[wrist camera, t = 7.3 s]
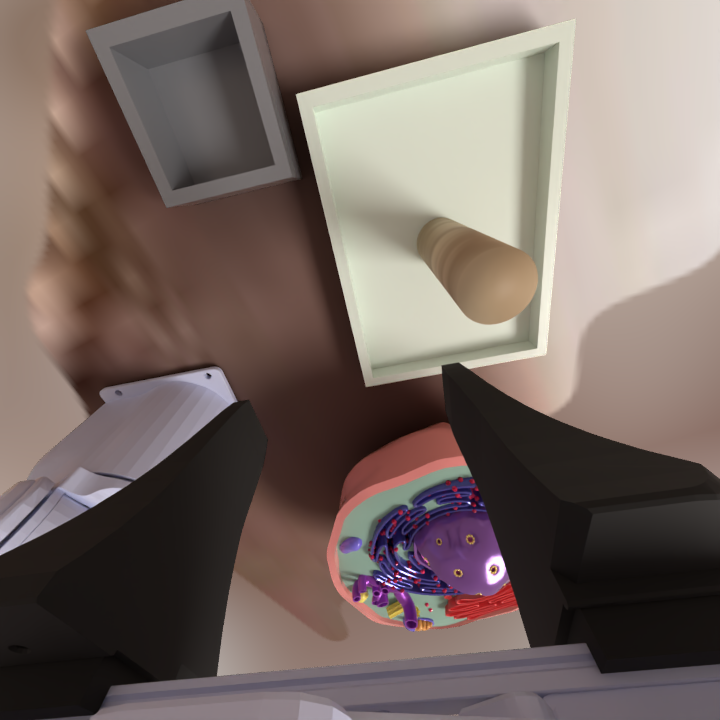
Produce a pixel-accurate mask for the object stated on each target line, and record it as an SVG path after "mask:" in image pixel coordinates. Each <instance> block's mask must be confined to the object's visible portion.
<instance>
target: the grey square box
mask: <svg viewBox="0 0 720 720" xmlns="http://www.w3.org/2000/svg"><path fill="white" fill-rule="evenodd" d="M86 33H87V35H88V37H89V39H90V41H91V44H92V46H93V48H94V50H95V52H96V55H97V57H98V59H99V61H100V63H101V65H102V68H103V70H104V72H105V74H106V76H107V79H108V81H109V83H110V85H111V87H112V90H113V92H114V94H115V96H116V98H117V101H118V103H119V105H120V107H121V109H122V111H123V114H124V116H125V118H126V120H127V122H128V125H129V127H130V129H131V131H132V133H133V136H134V138H135V140H136V142H137V144H138V146H139V149H140V151H141V153H142V155H143V157H144V160H145V162H146V164H147V166H148V168H149V171H150V173H151V175H152V177H153V179H154V181H155V184H156V186H157V188H158V190H159V192H160V195H161V197H162V199H163V201H164V203H165V206H166V208H170V207H179V206H188V205H197V204H201V203H205V202H209V201H213V200H217V199H222V198H226V197H230V196H234V195H238V194H242V193H246V192H250V191H254V190H258V189H262V188H266V187H271V186H275V185H279V184H283V183H287V182H291V181H295V180H299V179H303V178H302V174H301V170H300V166H299V162H298V159H297V155H296V151H295V147H294V143H293V139H292V135H291V131H290V127H289V124H288V120H287V116H286V112H285V108H284V104H283V100H282V96H281V92H280V89H279V85H278V81H277V77H276V73H275V69H274V65H273V61H272V57H271V54H270V50H269V46H268V42H267V38H266V34H265V30H264V26H263V23H262V21H261V19H260V18H259V16H258V14H257V12H256V11H255V9H254V7H253V5H252V4H251V2H250V0H183V1H179V2H176V3H173V4H170V5H167V6H163V7H160V8H157V9H154V10H150V11H147V12H144V13H141V14H137V15H134V16H131V17H128V18H125V19H121V20H118V21H115V22H112V23H108V24H105V25H102V26H99V27H95V28H92V29H89V30H86Z"/></svg>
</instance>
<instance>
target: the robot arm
mask: <svg viewBox="0 0 720 720" xmlns="http://www.w3.org/2000/svg"><path fill="white" fill-rule="evenodd" d="M441 367H442V378H443V388H444V399H445V409H446V413H447V417H448V420H449V423H450V426H451V429H452V433H453V435H454V438H455V440H456V442H457V444H458V446H459V449H460V451H461V453H462V455H463V457H464V459H465V462H466V464H467V466H468V468H469V470H470V472H471V475H472V477H473V479H474V481H475V483H476V485H477V488H478V490H479V492H480V495H481V497H482V500H483V502H484V505H485V508H486V511H487V514H488V517H489V520H490V522H491V525H492V528H493V531H494V534H495V537H496V540H497V543H498V546H499V549H500V552H501V555H502V558H503V561H504V564H505V567H506V570H507V573H508V577H509V580H510V583H511V586H512V589H513V592H514V595H515V598H516V602H517V605H518V608H519V611H520V615H521V618H522V621H523V624H524V628H525V631H526V634H527V637H528V640H529V644H530V647H531V648H524V649H513V650H502V651H491V652H480V653H469V654H458V655H447V656H436V657H425V658H414V659H403V660H393V661H382V662H371V663H360V664H348V665H337V666H326V667H315V668H304V669H293V670H283V671H271V672H259V673H249V674H238V675H227V676H217V669H218V662H219V654H220V646H221V637H222V631H223V625H224V619H225V612H226V606H227V600H228V594H229V589H230V584H231V578H232V573H233V568H234V563H235V559H236V554H237V550H238V545H239V541H240V536H241V533H242V529H243V526H244V522H245V519H246V516H247V513H248V510H249V507H250V504H251V501H252V498H253V495H254V492H255V489H256V486H257V483H258V480H259V477H260V474H261V471H262V468H263V464H264V459H265V454H266V448H267V442H268V439H267V437H266V435H265V433H264V431H263V429H262V427H261V424H260V422H259V420H258V418H257V416H256V414H255V412H254V409H253V407H252V405H251V403H250V401H249V400H244V401H239V402H238V401H237V399H236V397H235V395H234V393H233V391H232V389H231V387H230V385H229V383H228V381H227V379H226V377H225V375H224V373H223V371H222V370H221V369H220V368H219V367H209V368H204V369H198V370H193V371H188V372H183V373H178V374H173V375H167V376H162V377H157V378H152V379H147V380H142V381H136V382H131V383H126V384H121V385H116V386H111V387H106V388H103V389H102V390H101V391H100V396H101V398H102V399H103V400H104V402H105V404H104V405H103V406H101V407H100V408H99V409H98V410H97V411H96V412H94V413H93V414H92V415H91V416H90V417H89V418H87V419H86V420H85V421H84V422H83V423H81V424H80V425H79V426H78V427H77V428H76V429H74V430H73V431H72V432H71V433H70V434H69V435H67V436H66V437H65V438H64V439H63V440H62V441H60V442H59V443H58V444H57V445H56V446H55V447H54V448H52V449H51V450H50V451H49V452H48V453H46V454H45V455H44V456H43V457H42V458H41V459H40V460H39V461H38V462H37V464H36V465H35V466H34V468H33V469H32V471H31V473H30V474H29V476H28V478H27V480H26V481H20V482H18V483H16V484H15V485H13V486H12V487H11V488H9V489H8V490H7V491H6V492H4V493H3V494H2V495H1V496H0V720H720V479H719V478H718V477H717V476H715V475H714V474H713V473H712V472H710V471H709V470H708V469H706V468H705V467H704V466H702V465H701V464H699V463H695V462H691V461H687V460H682V459H678V458H674V457H671V456H666V455H662V454H658V453H654V452H650V451H646V450H642V449H639V448H636V447H632V446H629V445H626V444H622V443H619V442H616V441H612V440H609V439H606V438H603V437H600V436H597V435H594V434H591V433H589V432H586V431H583V430H581V429H578V428H575V427H573V426H570V425H568V424H565V423H562V422H560V421H558V420H555V419H553V418H551V417H549V416H547V415H545V414H542V413H540V412H538V411H536V410H534V409H532V408H530V407H528V406H526V405H524V404H522V403H520V402H519V401H517V400H515V399H513V398H511V397H510V396H508V395H506V394H505V393H503V392H501V391H500V390H498V389H497V388H495V387H493V386H492V385H490V384H489V383H487V382H486V381H484V380H483V379H482V378H480V377H479V376H477V375H476V374H475V373H473V372H472V371H470V370H469V369H468V368H466V367H465V366H463V365H462V364H461V363H459V362H457V363H452V364H446V365H441ZM206 373H209V374H210V375H211V376H208V375H207V374H206ZM120 391H121V392H122V393H121V392H120ZM455 714H456V715H457V714H459V715H458V716H456V715H455Z"/></svg>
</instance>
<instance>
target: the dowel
mask: <svg viewBox="0 0 720 720" xmlns="http://www.w3.org/2000/svg"><path fill="white" fill-rule="evenodd" d="M417 250H418V253H419V255H420V257H421V258H422V259H423V261H424V262H425V263H426V265H427V266H428V267H429V269H430V270H431V271H432V272H433V274H434V275H435V276H436V278H437V279H438V280H439V282H440V283H441V284H442V286H443V287H444V288H445V290H446V291H447V292H448V294H449V295H450V296H451V298H452V299H453V300H454V302H455V303H456V304H457V306H458V307H459V308H460V309H461V311H462V312H463V313H464V314H465V316H466V317H468V318H469V319H470V320H472V321H474V322H476V323H480V324H485V325H492V324H499V323H502V322H505V321H508V320H510V319H512V318H513V317H515V316H516V315H518V314H519V313H520V312H522V311H523V310H524V309H525V308H526V306H527V305H528V304H529V303H530V301H531V300H532V298H533V296H534V294H535V291H536V288H537V283H538V272H537V268H536V265H535V263H534V261H533V260H532V258H531V257H530V256H529V255H528V254H526V253H525V252H524V251H522V250H520V249H517V248H515V247H513V246H511V245H508V244H506V243H504V242H501V241H499V240H497V239H495V238H492V237H490V236H488V235H485V234H483V233H481V232H479V231H476V230H474V229H472V228H469V227H467V226H465V225H463V224H460V223H458V222H456V221H453V220H451V219H449V218H443V217H441V218H436V219H433V220H431V221H429V222H428V223H426V224H425V225H424V226H423V228H422V229H421V231H420V233H419V235H418V238H417Z"/></svg>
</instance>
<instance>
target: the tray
mask: <svg viewBox="0 0 720 720" xmlns="http://www.w3.org/2000/svg"><path fill="white" fill-rule="evenodd" d="M575 27H576V19H572V20H568V21H565V22H561V23H557V24H553V25H550V26H546V27H542V28H539V29H535V30H531V31H528V32H524V33H520V34H516V35H513V36H509V37H505V38H502V39H498V40H494V41H491V42H487V43H483V44H480V45H476V46H472V47H468V48H465V49H461V50H457V51H454V52H450V53H446V54H443V55H439V56H435V57H431V58H428V59H424V60H420V61H417V62H413V63H409V64H406V65H402V66H398V67H395V68H391V69H387V70H383V71H380V72H376V73H372V74H369V75H365V76H361V77H358V78H354V79H350V80H346V81H343V82H339V83H335V84H332V85H328V86H324V87H321V88H317V89H313V90H310V91H306V92H302V93H298V94H296V97H297V101H298V106H299V110H300V114H301V118H302V122H303V126H304V131H305V135H306V139H307V143H308V147H309V151H310V156H311V160H312V164H313V168H314V172H315V177H316V181H317V185H318V189H319V193H320V197H321V202H322V206H323V210H324V214H325V218H326V223H327V227H328V231H329V235H330V239H331V243H332V248H333V252H334V256H335V260H336V264H337V268H338V273H339V277H340V281H341V285H342V289H343V294H344V298H345V302H346V306H347V310H348V314H349V319H350V323H351V327H352V331H353V335H354V339H355V344H356V348H357V352H358V356H359V360H360V365H361V369H362V373H363V377H364V381H365V385H366V387H370V386H375V385H381V384H386V383H392V382H398V381H403V380H409V379H414V378H420V377H425V376H431V375H437V374H442V367H441V365H446V364H452V363H457V362H459V363H461V364H462V365H463V366H465V367H466V368H468V369H470V368H476V367H481V366H487V365H492V364H498V363H504V362H509V361H515V360H520V359H526V358H532V357H537V356H543V355H546V352H547V340H548V329H549V318H550V307H551V296H552V284H553V273H554V262H555V251H556V240H557V228H558V217H559V206H560V195H561V184H562V172H563V161H564V150H565V139H566V128H567V116H568V105H569V94H570V83H571V71H572V60H573V49H574V38H575ZM441 217H443V218H449V219H451V220H453V221H456V222H458V223H460V224H463V225H465V226H467V227H469V228H472V229H474V230H476V231H479V232H481V233H483V234H485V235H488V236H490V237H492V238H495V239H497V240H499V241H501V242H504V243H506V244H508V245H511V246H513V247H515V248H517V249H520V250H522V251H524V252H525V253H526V254H528V255H529V256H530V257H531V258H532V260H533V261H534V263H535V265H536V268H537V272H538V283H537V288H536V291H535V294H534V296H533V298H532V300H531V301H530V303H529V304H528V305H527V306H526V308H525V309H524V310H523V311H522V312H520V313H519V314H518V315H516V316H515V317H513V318H512V319H510V320H508V321H505V322H502V323H499V324H492V325H485V324H480V323H476V322H474V321H472V320H470V319H469V318H468V317H466V316H465V314H464V313H463V312H462V311H461V309H460V308H459V307H458V306H457V304H456V303H455V302H454V300H453V299H452V298H451V296H450V295H449V294H448V292H447V291H446V290H445V288H444V287H443V286H442V284H441V283H440V282H439V280H438V279H437V278H436V276H435V275H434V274H433V272H432V271H431V270H430V269H429V267H428V266H427V265H426V263H425V262H424V261H423V259H422V258H421V257H420V255H419V253H418V250H417V238H418V235H419V233H420V231H421V229H422V228H423V226H424V225H425V224H426V223H428V222H429V221H431V220H433V219H436V218H441Z"/></svg>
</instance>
